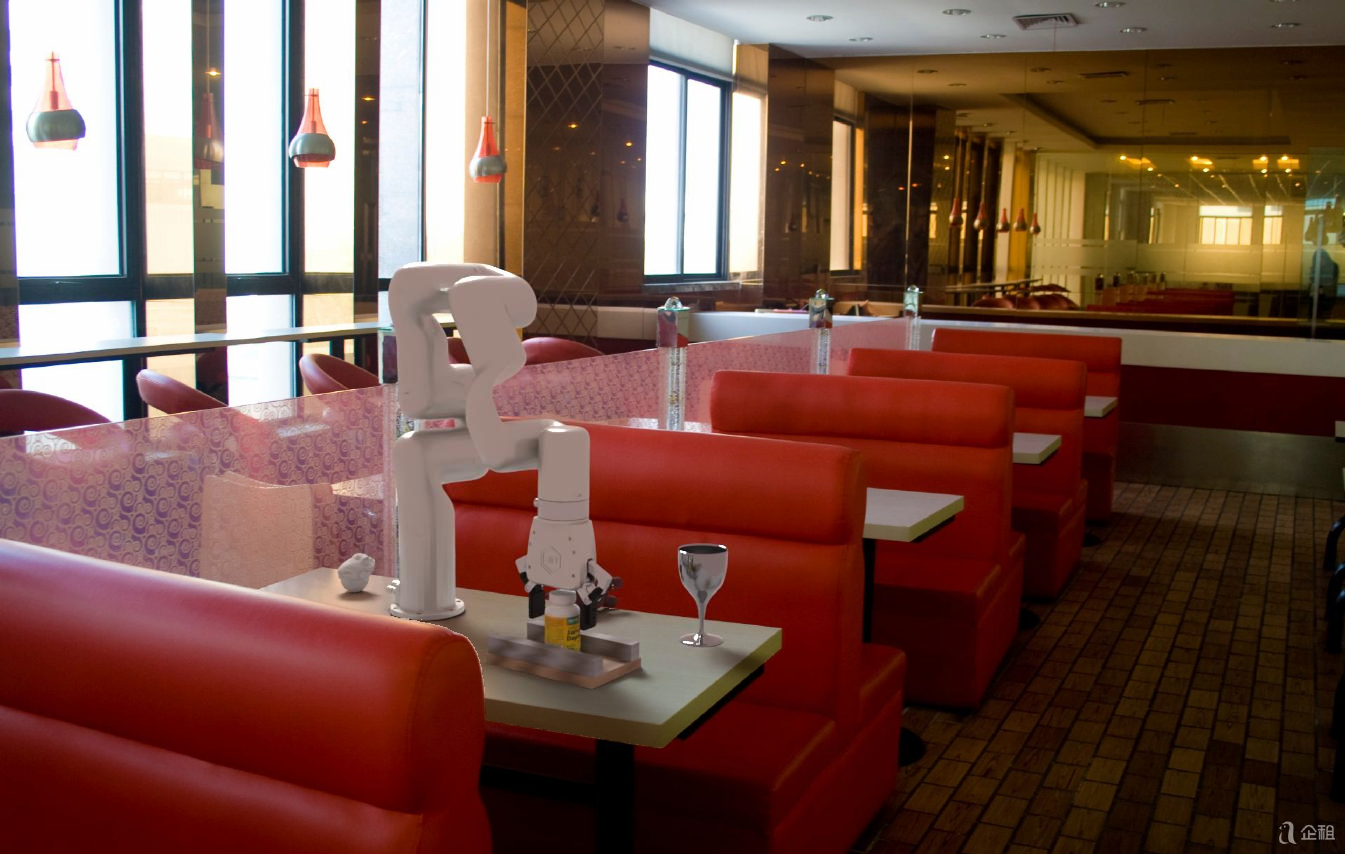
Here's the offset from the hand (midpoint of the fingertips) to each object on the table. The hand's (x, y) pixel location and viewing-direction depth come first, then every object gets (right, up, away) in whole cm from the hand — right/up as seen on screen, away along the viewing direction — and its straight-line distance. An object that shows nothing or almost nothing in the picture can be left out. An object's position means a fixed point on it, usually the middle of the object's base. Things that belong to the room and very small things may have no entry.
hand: (562, 622), depth 179 cm
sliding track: (0, -6, +1) cm, 7 cm away
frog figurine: (-41, -1, +41) cm, 58 cm away
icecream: (+1, -3, +29) cm, 30 cm away
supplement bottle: (0, -5, +1) cm, 5 cm away
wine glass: (+21, -5, +14) cm, 26 cm away
